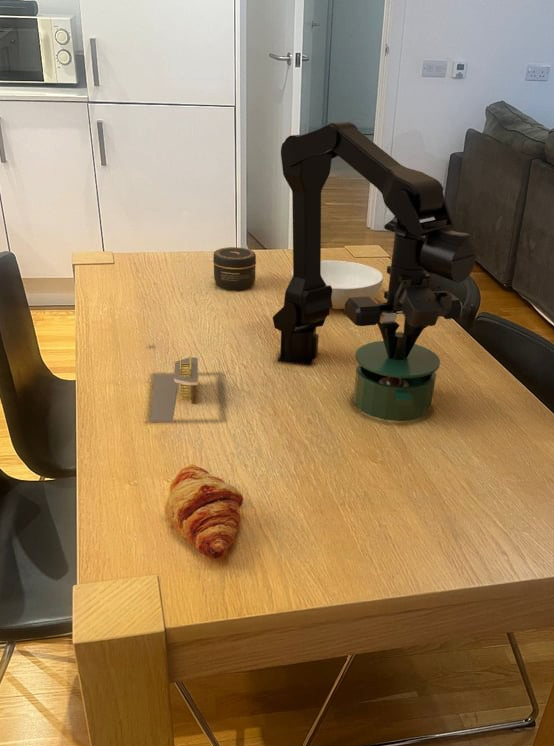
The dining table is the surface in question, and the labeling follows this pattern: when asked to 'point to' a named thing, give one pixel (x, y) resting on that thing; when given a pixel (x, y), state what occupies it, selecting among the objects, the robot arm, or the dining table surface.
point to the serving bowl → (349, 280)
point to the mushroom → (394, 382)
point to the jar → (234, 268)
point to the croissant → (204, 510)
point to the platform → (173, 389)
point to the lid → (398, 359)
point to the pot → (393, 396)
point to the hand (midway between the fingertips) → (397, 357)
